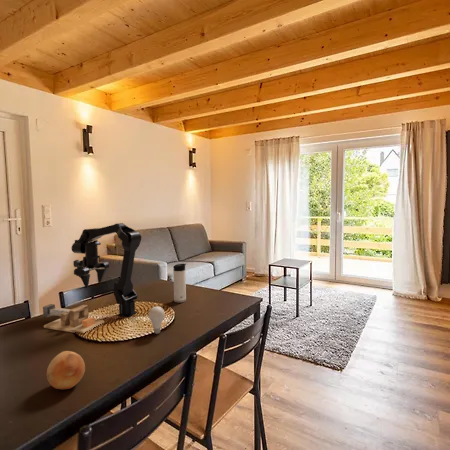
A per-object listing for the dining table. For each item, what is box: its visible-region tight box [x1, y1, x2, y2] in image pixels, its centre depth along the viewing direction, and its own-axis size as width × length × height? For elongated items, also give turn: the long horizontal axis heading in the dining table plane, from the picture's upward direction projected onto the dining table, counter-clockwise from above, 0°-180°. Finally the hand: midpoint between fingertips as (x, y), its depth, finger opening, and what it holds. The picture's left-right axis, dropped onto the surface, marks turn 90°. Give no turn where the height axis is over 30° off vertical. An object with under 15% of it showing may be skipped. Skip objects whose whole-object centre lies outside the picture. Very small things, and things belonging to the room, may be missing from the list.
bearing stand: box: [43, 304, 105, 334], centre depth 133 cm, size 21×12×8 cm, turn 71°
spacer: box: [82, 316, 96, 327], centre depth 130 cm, size 2×4×2 cm
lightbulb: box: [148, 305, 165, 335], centre depth 123 cm, size 6×6×11 cm
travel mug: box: [172, 263, 187, 304], centre depth 163 cm, size 6×7×20 cm
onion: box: [46, 350, 86, 390], centre depth 88 cm, size 10×10×10 cm
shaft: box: [42, 303, 81, 318], centre depth 135 cm, size 18×4×4 cm, turn 71°
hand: (93, 285), depth 153 cm, fingers open, 9 cm apart
